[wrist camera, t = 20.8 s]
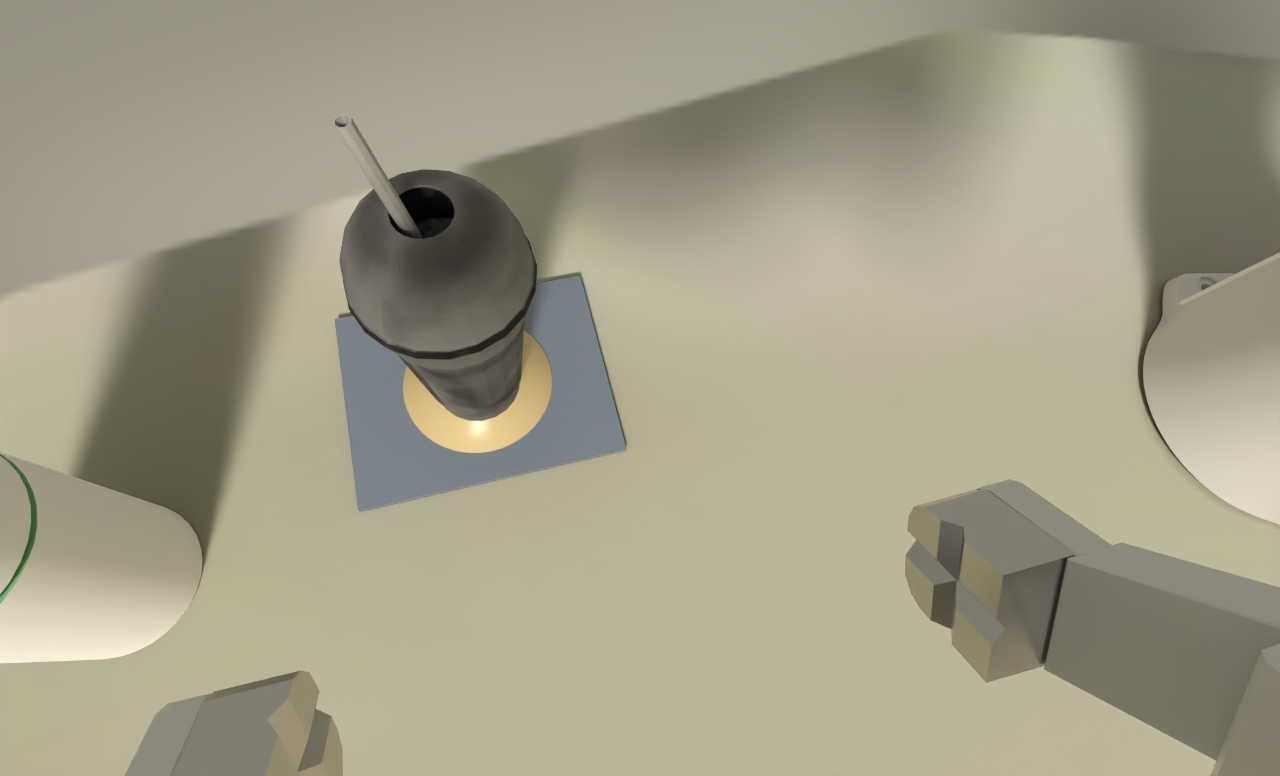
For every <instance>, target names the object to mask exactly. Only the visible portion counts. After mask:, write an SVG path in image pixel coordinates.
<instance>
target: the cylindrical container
mask: <svg viewBox="0 0 1280 776" xmlns="http://www.w3.org/2000/svg"><path fill="white" fill-rule="evenodd" d="M202 563H203V560H202V551H201V546H200V543H199V540H198V537H197V535H196V533H195V532H194V530H193V529H192V527H191V526H190V524H189V523H188V522H187V521H186V520H185V519H183V518H182V517H181V516H180V515H179V514H177V513H175V512H173V511H172V510H170V509H168V508H166V507H163V506H160V505H157V504H154V503H151V502H148V501H145V500H142V499H139V498H136V497H133V496H130V495H127V494H124V493H121V492H118V491H115V490H112V489H109V488H106V487H103V486H100V485H97V484H94V483H91V482H88V481H85V480H82V479H79V478H76V477H73V476H70V475H67V474H64V473H61V472H58V471H55V470H52V469H49V468H46V467H43V466H40V465H37V464H34V463H31V462H28V461H25V460H22V459H19V458H16V457H13V456H10V455H7V454H4V453H1V452H0V663H21V662H45V661H70V660H95V659H108V658H115V657H120V656H123V655H126V654H130V653H133V652H135V651H137V650H139V649H141V648H143V647H145V646H147V645H149V644H151V643H153V642H154V641H155V640H157V639H158V638H160V637H161V636H162V635H164V634H165V633H166V632H167V631H168V630H169V629H170V628H171V627H172V626H173V625H174V624H175V623H176V622H177V621H178V620H179V619H180V618H181V617H182V615H183V614H184V612H185V611H186V610H187V608H188V607H189V605H190V604H191V602H192V599H193V597H194V595H195V593H196V591H197V589H198V585H199V582H200V578H201V574H202Z"/></svg>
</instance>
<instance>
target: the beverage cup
mask: <svg viewBox="0 0 1280 776" xmlns="http://www.w3.org/2000/svg"><path fill="white" fill-rule="evenodd" d="M333 126H334V127H335V129H336V130H337V132H338V134H339V135H340V137H341V138H342V140H343V141H344V143H345V144H346V146H347V148H348V149H349V151H350V152H351V154H352V155H353V157H354V158H355V160H356V161H357V163H358V165H359V166H360V168H361V169H362V171H363V172H364V174H365V175H366V177H367V179H368V180H369V182H370V184H371V185H372V187H373V188H374V189H373V190H372V191H371V192H370V193H369V194H367V195H366V196H365V197H364V198H363V199H362V200H361V201H360V202H359V204H358V205H357V207H356V209H355V210H354V212H353V214H352V216H351V217H350V219H349V221H348V223H347V225H346V226H345V230H344V235H343V241H342V247H341V253H340V267H341V272H342V277H343V284H344V288H345V293H346V297H347V302H348V307H349V310H350V311H351V313H352V314H353V316H354V317H355V319H356V320H357V322H358V323H359V325H360V326H361V328H362V329H363V331H364V332H365V333H366V334H368V335H369V336H370V337H372V338H373V339H374V340H376V341H377V342H379V343H380V344H381V345H383V346H384V347H385V348H387V349H388V350H391V351H393V352H395V353H396V354H397V355H398V356H399V357H400V358H401V359H402V361H403V362H404V363H405V364H406V365H407V366H408V368H409V369H410V370H411V371H412V372H413V373H414V374H415V376H416V377H417V378H418V379H419V380H420V381H421V383H422V384H423V385H424V386H425V387H426V388H427V390H428V391H429V392H430V393H431V394H432V395H433V397H434V398H435V399H436V400H437V401H438V402H439V403H440V404H442V405H443V406H444V407H445V408H446V409H447V410H448V411H449V412H451V413H452V414H453V415H455V416H456V417H459V418H462V419H465V420H468V421H484V420H487V419H491V418H494V417H496V416H498V415H499V414H501V413H503V412H504V411H506V410H507V409H508V408H509V406H510V405H511V404H512V403H513V402H514V401H515V398H516V396H517V393H518V391H519V384H520V381H521V372H522V355H523V337H524V320H525V317H526V315H527V312H528V309H529V306H530V303H531V301H532V298H533V296H534V294H535V291H536V275H537V264H536V261H535V258H534V255H533V252H532V249H531V246H530V243H529V240H528V239H527V237H526V236H525V234H524V231H523V228H522V226H521V224H520V222H519V221H518V219H517V218H516V217H515V216H514V214H513V213H512V212H511V210H510V209H509V208H508V207H507V205H506V204H505V203H504V202H503V200H502V199H501V198H500V197H499V196H498V195H496V194H495V193H493V192H492V191H490V190H489V189H487V188H486V187H484V186H483V185H481V184H480V183H478V182H477V181H475V180H474V179H472V178H469V177H466V176H462V175H459V174H456V173H453V172H450V171H441V170H417V171H412V172H407V173H402V174H399V175H397V176H395V177H393V178H391V179H389V180H388V178H387V176H386V175H385V173H384V171H383V170H382V168H381V166H380V164H379V163H378V161H377V159H376V158H375V156H374V155H373V153H372V151H371V150H370V148H369V146H368V144H367V143H366V141H365V139H364V138H363V136H362V135H361V133H360V131H359V129H358V128H357V126H356V125H355V123H354V121H353V119H352V118H351V117H350V116H349V115H347V114H339V115H337V116H336V117H335V118H334V119H333Z"/></svg>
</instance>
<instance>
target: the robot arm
mask: <svg viewBox="0 0 1280 776" xmlns="http://www.w3.org/2000/svg"><path fill="white" fill-rule="evenodd" d="M1143 381H1144V388H1145V394H1146V398H1147V402H1148V405H1149V408H1150V411H1151V413H1152V416H1153V418H1154V421H1155V423H1156V425H1157V427H1158V429H1159V431H1160V433H1161V434H1162V436H1163V438H1164V440H1165V441H1166V443H1167V444H1168V446H1169V447H1170V449H1171V450H1172V451H1173V453H1174V454H1175V456H1176V457H1177V458H1178V459H1179V460H1180V462H1181V463H1182V464H1183V465H1184V466H1185V467H1186V469H1187V470H1188V471H1189V472H1190V473H1191V474H1192V475H1193V476H1194V477H1195V478H1196V479H1197V480H1199V481H1200V482H1201V483H1202V484H1203V485H1204V486H1205V487H1207V488H1208V489H1209V490H1210V491H1212V492H1213V493H1214V494H1216V495H1217V496H1219V497H1220V498H1221V499H1223V500H1225V501H1226V502H1228V503H1229V504H1231V505H1233V506H1235V507H1237V508H1238V509H1241V510H1243V511H1245V512H1247V513H1249V514H1252V515H1254V516H1257V517H1260V518H1262V519H1265V520H1268V521H1271V522H1274V523H1276V524H1279V525H1280V252H1279V253H1277V254H1275V255H1273V256H1271V257H1269V258H1267V259H1265V260H1263V261H1261V262H1259V263H1257V264H1255V265H1253V266H1251V267H1249V268H1246V269H1244V270H1242V271H1240V272H1238V273H1187V274H1182V275H1180V276H1178V277H1176V278H1173V279H1171V280H1169V281H1168V282H1167V283H1166V284H1165V286H1164V290H1163V315H1162V318H1161V321H1160V323H1159V325H1158V326H1157V328H1156V330H1155V331H1154V333H1153V335H1152V336H1151V338H1150V340H1149V343H1148V345H1147V348H1146V352H1145V356H1144V363H1143ZM908 531H909V533H910V534H911V535H912V536H913V537H914V538H915V539H916V541H915V543H914V544H913V545H912V547H911V548H910V550H909V551H908V553H907V554H906V561H905V575H906V578H907V582H908V585H909V588H910V592H911V594H912V596H913V597H914V599H915V601H916V602H917V604H918V606H919V607H920V608H921V610H922V611H923V612H924V613H925V614H926V615H927V617H928V618H929V619H930V620H931V621H934V622H936V623H938V624H941V625H943V626H945V627H948V628H950V629H951V635H952V645H953V646H954V647H955V648H956V649H957V650H958V652H959V653H960V654H961V655H962V656H963V657H964V658H965V659H966V660H967V662H968V663H969V664H970V665H971V666H972V667H973V668H974V669H975V670H976V672H977V673H978V674H979V675H980V676H981V677H982V678H983V679H984V680H985V682H990V681H993V680H997V679H1000V678H1004V677H1007V676H1011V675H1014V674H1017V673H1021V672H1024V671H1028V670H1031V669H1035V668H1038V667H1042V666H1045V667H1044V669H1045V670H1046V671H1048V672H1050V673H1052V674H1054V675H1056V676H1058V677H1060V678H1062V679H1063V680H1065V681H1067V682H1069V683H1071V684H1073V685H1075V686H1077V687H1078V688H1080V689H1082V690H1084V691H1086V692H1088V693H1090V694H1092V695H1094V696H1095V697H1097V698H1099V699H1101V700H1103V701H1105V702H1107V703H1109V704H1111V705H1112V706H1114V707H1116V708H1118V709H1120V710H1122V711H1124V712H1126V713H1127V714H1129V715H1131V716H1133V717H1135V718H1137V719H1139V720H1141V721H1143V722H1144V723H1146V724H1148V725H1150V726H1152V727H1154V728H1156V729H1158V730H1160V731H1161V732H1163V733H1165V734H1167V735H1169V736H1171V737H1173V738H1175V739H1176V740H1178V741H1180V742H1182V743H1184V744H1186V745H1188V746H1190V747H1192V748H1193V749H1195V750H1197V751H1199V752H1201V753H1203V754H1205V755H1207V756H1208V757H1210V758H1212V759H1214V760H1216V764H1215V766H1214V769H1213V771H1212V774H1211V776H1280V588H1279V587H1276V586H1272V585H1269V584H1265V583H1262V582H1258V581H1255V580H1251V579H1248V578H1244V577H1241V576H1237V575H1234V574H1230V573H1227V572H1223V571H1220V570H1216V569H1212V568H1209V567H1205V566H1202V565H1198V564H1195V563H1191V562H1188V561H1184V560H1181V559H1177V558H1174V557H1170V556H1167V555H1163V554H1160V553H1156V552H1153V551H1149V550H1146V549H1142V548H1139V547H1135V546H1132V545H1128V544H1125V543H1119V544H1116V545H1111V544H1109V543H1108V542H1106V541H1105V540H1103V539H1102V538H1100V537H1099V536H1098V535H1096V534H1095V533H1093V532H1092V531H1090V530H1089V529H1087V528H1086V527H1085V526H1083V525H1082V524H1080V523H1079V522H1077V521H1076V520H1074V519H1073V518H1072V517H1070V516H1069V515H1067V514H1066V513H1064V512H1063V511H1061V510H1060V509H1059V508H1057V507H1056V506H1054V505H1053V504H1051V503H1050V502H1048V501H1047V500H1045V499H1044V498H1043V497H1041V496H1040V495H1038V494H1037V493H1035V492H1034V491H1032V490H1031V489H1030V488H1028V487H1027V486H1025V485H1024V484H1022V483H1020V482H1017V481H1013V480H1006V481H1002V482H999V483H995V484H992V485H988V486H985V487H981V488H978V489H977V490H973V491H969V492H965V493H962V494H958V495H954V496H951V497H947V498H943V499H940V500H936V501H933V502H929V503H925V504H922V505H918V506H914V508H913V509H912V511H911V513H910V515H909V520H908ZM318 695H319V689H318V688H317V686H316V684H315V682H314V680H313V678H312V676H311V675H310V673H309V672H305V671H297V672H293V673H289V674H285V675H281V676H276V677H272V678H268V679H264V680H260V681H256V682H252V683H248V684H244V685H239V686H235V687H231V688H227V689H223V690H219V691H215V692H213V693H212V694H207V695H203V696H198V697H194V698H190V699H186V700H182V701H177V702H173V703H169V704H167V705H166V706H165V707H164V708H162V709H161V710H160V711H159V712H158V713H157V714H156V715H155V716H154V718H153V720H152V722H151V724H150V726H149V728H148V730H147V732H146V734H145V736H144V738H143V740H142V742H141V744H140V746H139V748H138V750H137V752H136V754H135V756H134V758H133V760H132V762H131V764H130V766H129V768H128V770H127V772H126V774H125V776H343V761H342V746H341V742H340V737H339V733H338V730H337V727H336V725H335V723H334V721H333V719H332V716H330V715H328V714H325V713H323V712H321V711H319V710H317V709H315V708H316V704H317V699H318Z"/></svg>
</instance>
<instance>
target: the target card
mask: <svg viewBox="0 0 1280 776" xmlns="http://www.w3.org/2000/svg"><path fill="white" fill-rule="evenodd" d="M335 325H336V333H337V341H338V349H339V357H340V366H341V374H342V382H343V390H344V398H345V406H346V414H347V422H348V430H349V439H350V447H351V455H352V463H353V471H354V479H355V487H356V495H357V503H358V510H359V511H360V512H362V511H366V510H371V509H375V508H379V507H384V506H388V505H392V504H397V503H401V502H405V501H410V500H414V499H418V498H423V497H427V496H431V495H435V494H440V493H444V492H448V491H453V490H457V489H461V488H466V487H470V486H474V485H479V484H483V483H487V482H492V481H496V480H500V479H505V478H509V477H513V476H518V475H522V474H526V473H530V472H535V471H539V470H543V469H548V468H552V467H556V466H561V465H565V464H569V463H574V462H578V461H582V460H587V459H591V458H595V457H600V456H604V455H608V454H613V453H617V452H621V451H626V445H625V441H624V437H623V434H622V430H621V426H620V423H619V419H618V415H617V411H616V408H615V404H614V400H613V396H612V393H611V389H610V385H609V381H608V378H607V374H606V370H605V366H604V363H603V359H602V355H601V351H600V348H599V344H598V340H597V337H596V333H595V329H594V325H593V322H592V318H591V314H590V310H589V307H588V303H587V299H586V295H585V292H584V288H583V284H582V280H581V277H580V276H574V277H569V278H563V279H557V280H552V281H546V282H540V283H536V291H535V294H534V296H533V298H532V301H531V303H530V306H529V309H528V312H527V315H526V317H525V320H524V337H523V355H522V372H521V381H520V384H519V391H518V393H517V396H516V398H515V401H514V402H513V403H512V404H511V405H510V406H509V408H508V409H507V410H506V411H504V412H503V413H501V414H499V415H498V416H496V417H494V418H491V419H487V420H484V421H468V420H465V419H462V418H459V417H456V416H455V415H453V414H452V413H451V412H449V411H448V410H447V409H446V408H445V407H444V406H443V405H442V404H440V403H439V402H438V401H437V400H436V399H435V398H434V397H433V395H432V394H431V393H430V392H429V391H428V390H427V388H426V387H425V386H424V385H423V384H422V383H421V381H420V380H419V379H418V378H417V377H416V376H415V374H414V373H413V372H412V371H411V370H410V369H409V368H408V366H407V365H406V364H405V363H404V362H403V361H402V359H401V358H400V357H399V356H398V355H397V354H396V353H395V352H393V351H391V350H388V349H387V348H385V347H384V346H383V345H381V344H380V343H379V342H377V341H376V340H374V339H373V338H372V337H370V336H369V335H368V334H366V333H365V332H364V331H363V329H362V328H361V326H360V325H359V323H358V322H357V320H356V319H355V317H354V316H348V317H342V318H337V319H335Z"/></svg>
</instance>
